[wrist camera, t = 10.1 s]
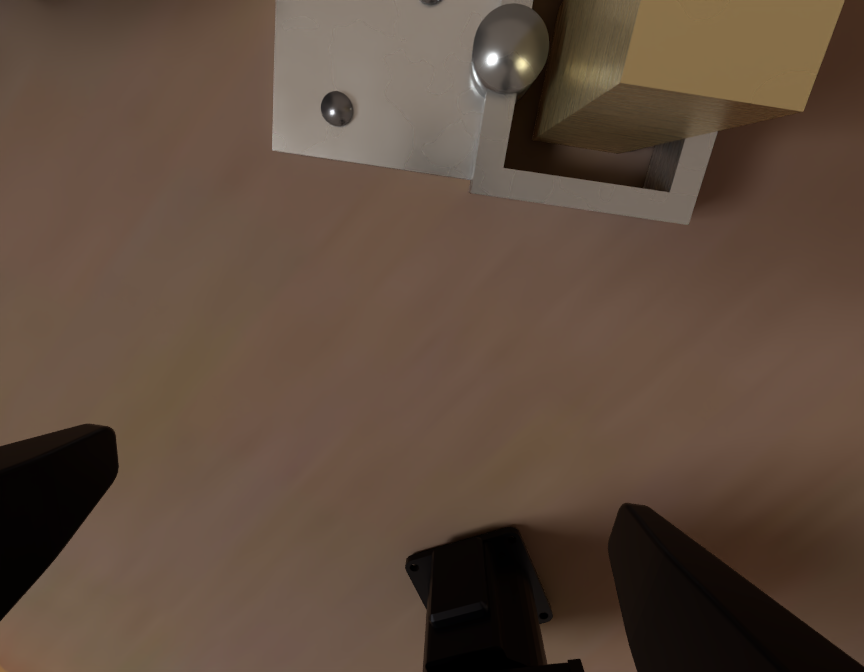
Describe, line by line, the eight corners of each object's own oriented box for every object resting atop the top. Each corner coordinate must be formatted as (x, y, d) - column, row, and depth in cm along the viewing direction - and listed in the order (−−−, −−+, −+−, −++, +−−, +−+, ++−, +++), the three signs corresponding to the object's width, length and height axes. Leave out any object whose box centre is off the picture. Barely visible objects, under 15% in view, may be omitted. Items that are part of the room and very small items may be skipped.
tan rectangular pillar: (621, 154, 18) (810, 113, 8) (531, 140, 18) (620, 83, 8) (655, 24, 16) (929, -201, 7) (558, 9, 16) (700, -238, 7)
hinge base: (753, -36, 16) (825, -90, 13) (675, 223, 19) (718, 229, 16) (287, -105, 16) (247, -175, 13) (279, 164, 19) (245, 159, 16)
